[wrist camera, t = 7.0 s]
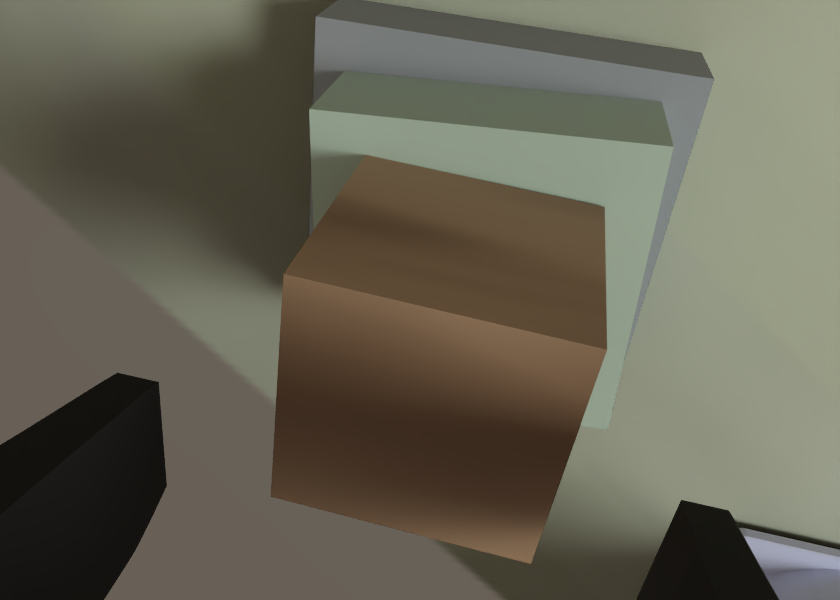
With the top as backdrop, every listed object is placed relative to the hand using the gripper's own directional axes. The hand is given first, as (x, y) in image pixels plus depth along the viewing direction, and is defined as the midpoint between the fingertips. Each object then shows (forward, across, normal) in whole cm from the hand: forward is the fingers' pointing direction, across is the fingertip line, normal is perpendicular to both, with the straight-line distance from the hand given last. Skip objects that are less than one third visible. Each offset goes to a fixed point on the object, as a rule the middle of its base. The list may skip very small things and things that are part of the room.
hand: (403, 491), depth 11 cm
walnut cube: (+6, 0, 0) cm, 6 cm away
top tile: (+8, 0, 0) cm, 8 cm away
